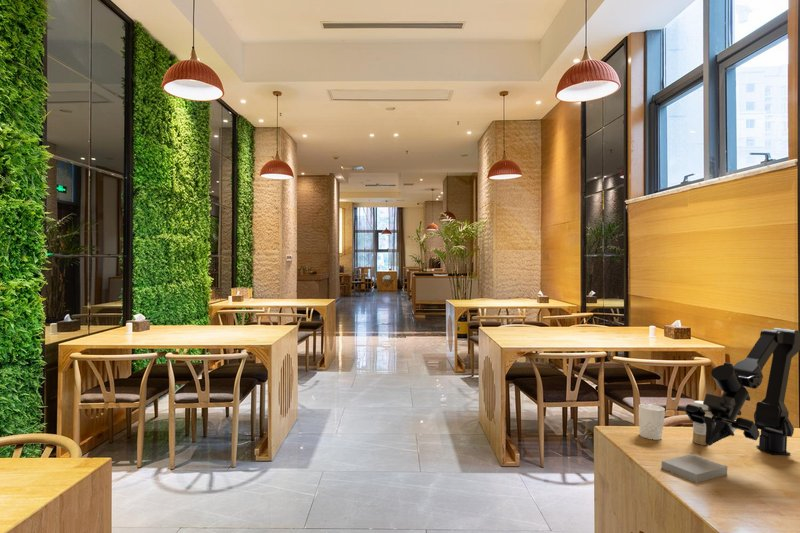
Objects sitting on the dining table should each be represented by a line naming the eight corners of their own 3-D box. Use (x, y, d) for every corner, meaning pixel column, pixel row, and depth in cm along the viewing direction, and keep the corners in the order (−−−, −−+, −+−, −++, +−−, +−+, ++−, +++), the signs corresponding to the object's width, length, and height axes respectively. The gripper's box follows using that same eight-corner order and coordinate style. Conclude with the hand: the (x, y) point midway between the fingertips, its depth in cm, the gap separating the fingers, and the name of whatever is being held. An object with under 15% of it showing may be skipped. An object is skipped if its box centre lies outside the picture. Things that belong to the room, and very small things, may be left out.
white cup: (657, 433, 172) (659, 404, 172) (667, 441, 164) (669, 411, 164) (633, 431, 173) (635, 403, 173) (642, 439, 165) (644, 409, 165)
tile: (691, 453, 147) (661, 460, 141) (727, 466, 139) (696, 474, 132) (691, 462, 147) (661, 470, 141) (727, 475, 139) (696, 484, 132)
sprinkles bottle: (697, 439, 167) (699, 399, 167) (711, 444, 163) (713, 403, 163) (689, 441, 165) (690, 400, 165) (702, 446, 161) (704, 404, 161)
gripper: (689, 377, 153) (664, 417, 148) (755, 392, 137) (730, 437, 132) (703, 400, 157) (680, 440, 152) (770, 417, 140) (746, 462, 135)
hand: (707, 444), depth 143 cm, fingers closed
